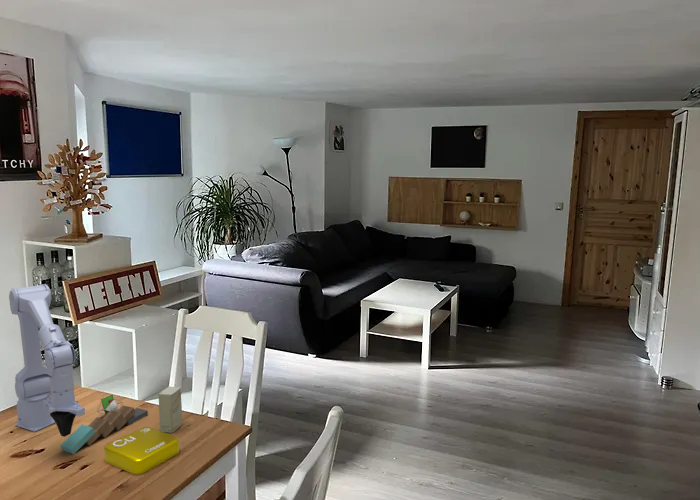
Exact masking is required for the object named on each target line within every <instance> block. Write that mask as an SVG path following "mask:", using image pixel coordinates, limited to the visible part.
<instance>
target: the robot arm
mask: <svg viewBox="0 0 700 500" xmlns="http://www.w3.org/2000/svg"><path fill="white" fill-rule="evenodd" d="M8 300H9V306H10V307H9V308H10V313H11V314H12V315H16V316H17V317H18V320H19V321H18V322H19V330H20V337H21V346H22V354H23V362H24V363H23V365H24V366H23V367H22V369H20V370H19V372H17V373H16V374H15V377H14V379H15V380H14V381H15V382H14V383H15V384H14V391H15V394H16V397H17V402H16V414H17V422H16V423H15V424H14V425H15V426H17V427H18V428H22V429H26V430H29V431H31V432H34V433H35V432H38V431H40V430H43V429H45V428H46V427H49V426H51V425H53V424H56V427H57V429H58V432H59V433H60V436H61V437H64V438H66V437H68V436H70V435H72V434H71V433H72V428H73V425H74V421H75V418H76V417H78V418H80V417H82V416H84V415H86V409H85V407H84V406H82V405H81V404H80V403H79V402H77V401H76V397H75V396H76V395H75V384H74V383H75V381H74V369H73V368H74V367H73V365H74V364H75V363H76V357H77V355H76V351H75V349H74V346H73V344H72V343H70V342H69V340H67V339H66V338H65V336H64V334H63V331H62V329H61V327H60V325H58V324H54V322H53V321H54V320H53V318H52V316H51V315H52V314H51V312H50V308H49V307H50V305H51V302H52V291H51V289H50V287H49V286H48V284H46V283H43V284H40V285H33V286H25V287H19V288H16V287H15V288H11V289H10V291H9V293H8ZM41 346H42V348H43V350H44V362H45V364H43V357H42V350H41Z"/></svg>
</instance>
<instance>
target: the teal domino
mask: <svg viewBox="0 0 700 500" xmlns="http://www.w3.org/2000/svg"><path fill="white" fill-rule="evenodd" d="M94 433H95V431H94V429H93V428H92V427H89V426H88V425H85V424H83V423H82V424H81V425H80V426H79V427H77V428H76V430H75V431H73V433H72V434H69V435H68V436H67V438H66V439H64V441H63V442H62V443H61V444H60V446H59V447H60V448H61V450H62V451H63V452H66V453H68V454H72V455H75V454H76V453H77V451H78V450H80V448H82V447H83V446H84V445H85V443H86V442H87V441H88V440H89V439H90V437H91V436H92V435H93V434H94Z"/></svg>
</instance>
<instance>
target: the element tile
mask: <svg viewBox="0 0 700 500" xmlns="http://www.w3.org/2000/svg"><path fill="white" fill-rule="evenodd" d="M103 451H104V461H105V463H107V464H110V465H112V466H114V467H116V468H119V469H121V470H124V471H125V472H128V473H130V474H133V475H142V474H145V473H146V472H148V471H150V470H152V469H153V468H155V467H157V466H159V465H160V464H163V463H164V462H166V461H168V460H170V459H171V458H174V457H175V456H177V455H178V454H179V453H180V440H179V437H177V436H175V435H172V434H169V433H168V432H162V431H160V429H156V428H154V427H151V426H144V427H141V428H138V429H136V430H134V431H132V432H131V433H127V434H125V435H123V436H122V437H120V438H118V439H116V440H113V441H112V442H109V443H107V444H106V445H105V446H104V450H103Z"/></svg>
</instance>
